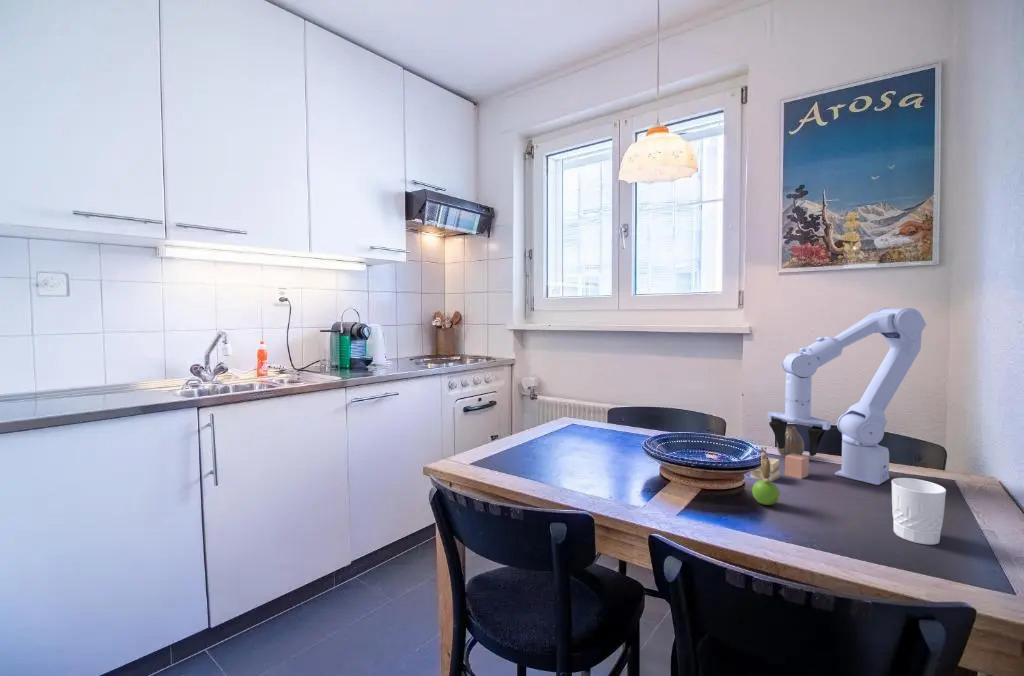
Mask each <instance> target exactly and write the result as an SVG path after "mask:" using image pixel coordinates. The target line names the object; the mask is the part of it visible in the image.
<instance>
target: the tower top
mask: <svg viewBox="0 0 1024 676" xmlns="http://www.w3.org/2000/svg"><path fill="white" fill-rule="evenodd" d="M767 457H768V460H769V461H770V474H774V473H775V472H776V471H778V470H780V462H781V461H780V459H779V458H778V459H777V458H773V457H769V456H767ZM756 471H761V472H762V470H761V466H760V467H759V468H758V469H756Z"/></svg>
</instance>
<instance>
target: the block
mask: <svg viewBox="0 0 1024 676" xmlns="http://www.w3.org/2000/svg"><path fill="white" fill-rule="evenodd" d="M784 462H785V463H784V475H785V476H789V477H793V478H797V479H801V480H802V479H805V478H806V477H808V476H809V472H810V470H809V469H810V456H808V455H807V456H806V455H803V454H802V455H799V454H794V453H792V454H789V455H787V456H785V457H784Z"/></svg>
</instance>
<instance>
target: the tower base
mask: <svg viewBox="0 0 1024 676" xmlns="http://www.w3.org/2000/svg"><path fill="white" fill-rule="evenodd" d="M780 472H781V469H779V470H778V471H776V472H775V473H774V474H770V477H769V479H770V481H771V482H774V481H776V480H779V479H780V478H781V476H780V474H781V473H780ZM749 475H750V478H753V479H757V480H763V477H762V472H761V471H756V470H754V471H751V472H750V473H749Z"/></svg>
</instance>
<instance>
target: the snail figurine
mask: <svg viewBox="0 0 1024 676" xmlns="http://www.w3.org/2000/svg"><path fill="white" fill-rule="evenodd" d="M760 449H761V450H764V452H763V451H762V452H761V453H760V456H761V470H762V477H763V480H760V479H758V480H756V481H755V483H754V484H753V486H752V488H751V490H752V491H751V492H752V496H753V498H754V499H755V500H756V501H757V502H758V503H759V504H761V505H765V506H771V505H774V504H776V503H777V502H778V500H779V499H780V496H781V495H780V490H779V487H778V485H776V483H774V481H772V482H771V481H770V479H769V477H770V461H769V460H768V459H767V457H768V454H767V453H766V450H767V449H768V448H767V447H763V446H761V447H760Z"/></svg>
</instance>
